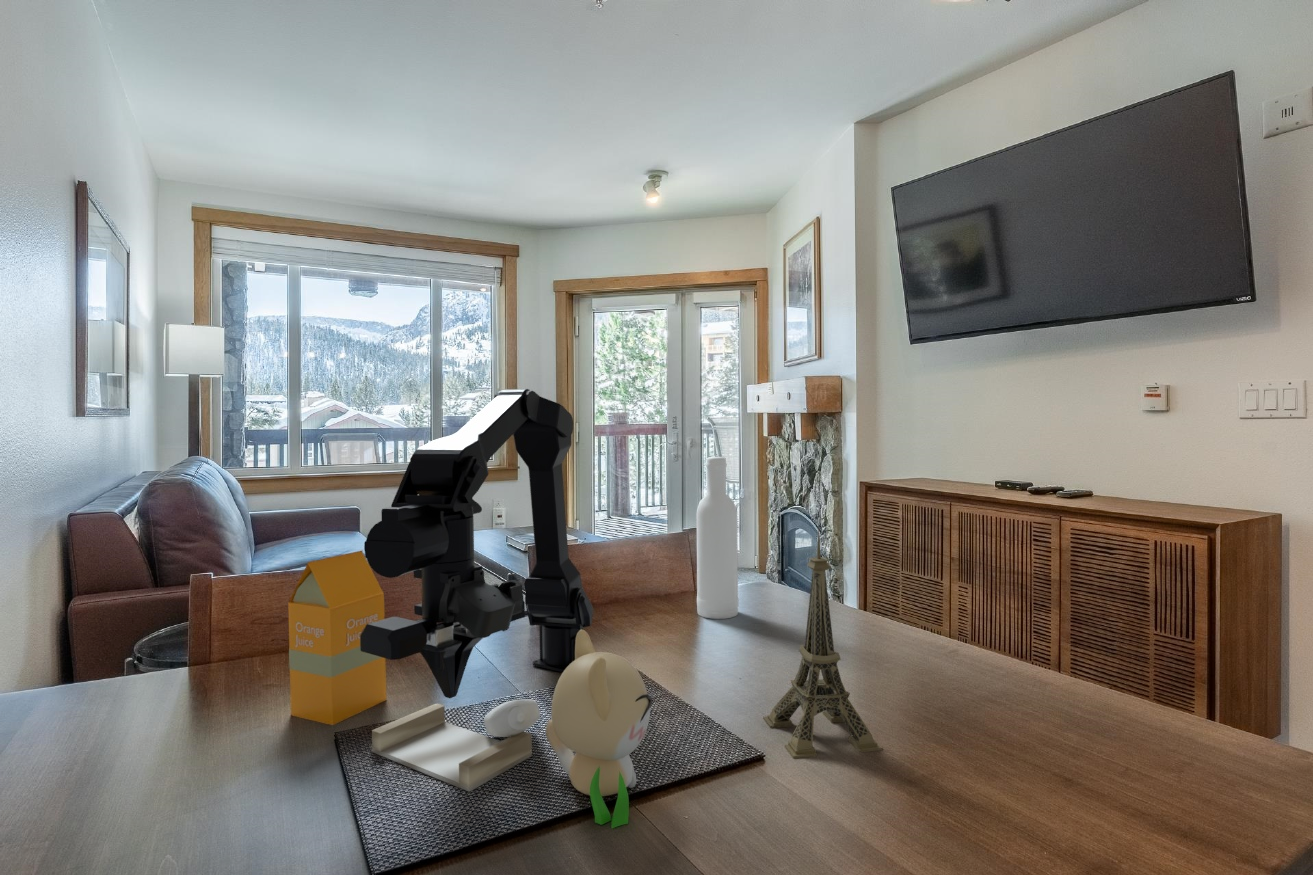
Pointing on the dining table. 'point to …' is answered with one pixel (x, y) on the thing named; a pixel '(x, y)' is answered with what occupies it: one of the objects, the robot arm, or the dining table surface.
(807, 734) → the eiffel tower
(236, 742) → the dining table surface
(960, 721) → the dining table surface
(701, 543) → the bottle
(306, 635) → the orange juice
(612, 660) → the kitten
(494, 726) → the eye dropper bottle
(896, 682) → the dining table surface
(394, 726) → the u rest
